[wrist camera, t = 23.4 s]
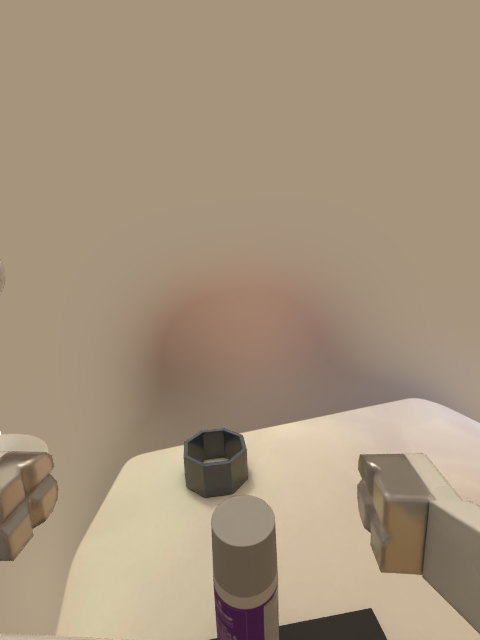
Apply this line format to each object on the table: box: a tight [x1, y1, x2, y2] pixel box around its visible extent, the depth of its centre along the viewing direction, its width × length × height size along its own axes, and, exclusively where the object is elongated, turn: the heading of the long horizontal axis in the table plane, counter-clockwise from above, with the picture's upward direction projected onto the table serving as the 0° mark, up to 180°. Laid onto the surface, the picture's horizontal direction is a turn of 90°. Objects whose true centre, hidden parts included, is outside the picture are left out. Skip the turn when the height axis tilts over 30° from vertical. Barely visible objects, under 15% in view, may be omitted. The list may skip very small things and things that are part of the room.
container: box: [211, 495, 279, 640], centre depth 24 cm, size 5×5×15 cm
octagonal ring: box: [184, 428, 248, 498], centre depth 50 cm, size 9×9×5 cm
